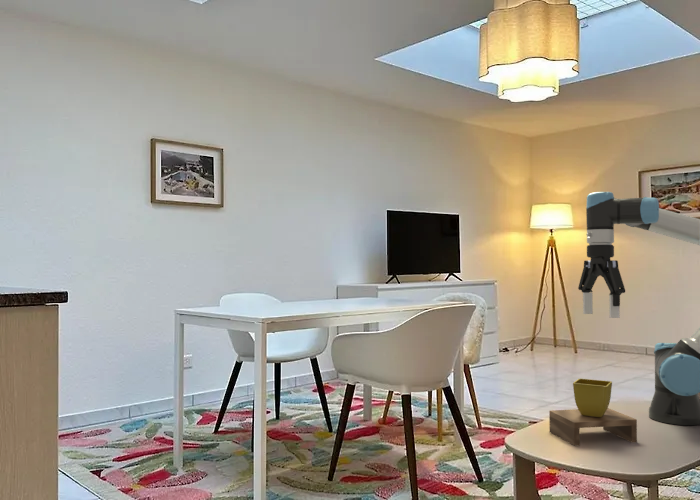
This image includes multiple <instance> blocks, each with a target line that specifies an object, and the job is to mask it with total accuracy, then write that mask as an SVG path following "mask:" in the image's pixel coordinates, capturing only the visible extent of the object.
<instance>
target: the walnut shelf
mask: <svg viewBox="0 0 700 500" xmlns="http://www.w3.org/2000/svg"><path fill="white" fill-rule="evenodd" d="M548 412H549V416H548V417H549V433H550V432H551V434H553V436H555V437H558V438H559V437H560V438H559V439H561V440H563V441H565V442H567V443H569V444H571V445H572V446H575V447H576V446H580V445H581V444H580V443H581V441H580V439H581V438H580V437H581V436H580V435H581V434H580V429H585V428H590V429H591V428H603V429H602V430H603V431H606V432H608V433H610V434H613V435H615V436H616V437H619V438H621V439H623V440H625V441H628V442H629V443H637V442H638V425H637V422H638V419H636V418H635V417H631V416H629V415H627V414H625V413H622V412H619V411H616V410H613V409H611V408H609V407H608V408H607V410H606V412H605V414H604V415H603V416H602V417H593V416H584V415H581V413H580V412H579V410H578V408H577V409H555V410H553V409H552V410H549V411H548Z"/></svg>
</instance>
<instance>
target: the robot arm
mask: <svg viewBox="0 0 700 500" xmlns="http://www.w3.org/2000/svg"><path fill="white" fill-rule="evenodd" d="M585 209H586V212H585V213H586V243H587V244H588V245H586V257H587V258H590V260H583V269H582V273H581V276H580V279H579V283H578V287H577V289H578V291H581V293H582V305H583V306H582V314H583V315H593V313H594V311H593V310H594V309H593V304H594V303H593V287H594V285H595V283H596V282H597V279H598V277H602V278H603V280H604V282H605V283H606V286H607V288H608V290H609V294H608V296H609V297H608V298H609V299H608V301H609V302H608V303H609V304H608V305H609V310H608V311H609V318H610V319H620V315H621V314H620V313H621V312H620V306H621V295H622V294H625V293H626V289H625V284H624V281H623V278H622V276H621V273H620V269H619V261H618V260H615V259H614V260H612V259H611V258H614V257H615V246H614V245H613V244H614V243H615V229H614V226H615V225H622V224H623V225H626V226H628V227H630V228H638V229H642V230H645V231H649V232H651V233H652V232H653V233H656V234H659V235H662V236H666V237H670V238H673V239H676V240H679V241H680V240H681V241H683V242H687V243H690V244H693V245H697V246H700V218H697V217H694V216H690V215H686V214H683V213H679V212H674V211H671V210H668V209H663V208H660V204H659V199H658V198H656V197H647V196H645V197H644V196H643V197H629V198H615V196H614V192H611V191H595V192H591V193H589V194H588V195H587V196H586V208H585ZM653 354H654V394H653V397H652V400H651V403H650V406H649V408H648V418H650V419H652V420H654V421H656V422H660V423H665V424H671V425H678V426H679V425H680V426H699V425H700V397H699V393H700V326H699V327H698V328H697V329H696V330H695V332H694V333H693V334H692V335H691V336H689V337H683V338H680V340H678V342H674V343H672V342H657V343H656V344H655V345H654V350H653Z"/></svg>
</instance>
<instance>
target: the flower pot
mask: <svg viewBox="0 0 700 500" xmlns="http://www.w3.org/2000/svg"><path fill="white" fill-rule="evenodd" d="M612 386H613V381H610V380H600V379H589V378H578V379H576V380H575V381H573V383H572V387H573V396H574V397H573V398H574V402H575V405H576V408H577V409H578V410H579V412H580V413H581V415H584V416H593V417H602V416H603V415H604V414H605V412H606V410H607V408H609V405H610V402H611V398H612V397H611V396H612Z"/></svg>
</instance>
